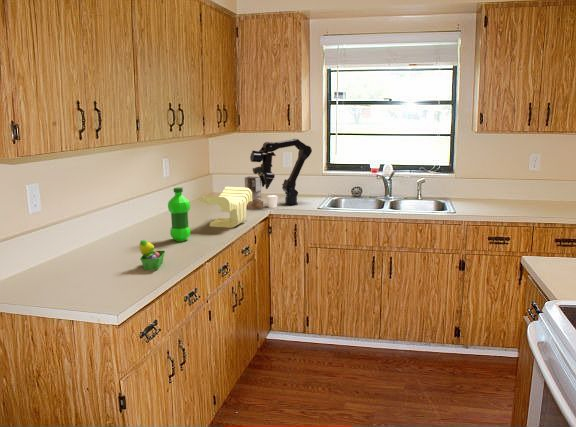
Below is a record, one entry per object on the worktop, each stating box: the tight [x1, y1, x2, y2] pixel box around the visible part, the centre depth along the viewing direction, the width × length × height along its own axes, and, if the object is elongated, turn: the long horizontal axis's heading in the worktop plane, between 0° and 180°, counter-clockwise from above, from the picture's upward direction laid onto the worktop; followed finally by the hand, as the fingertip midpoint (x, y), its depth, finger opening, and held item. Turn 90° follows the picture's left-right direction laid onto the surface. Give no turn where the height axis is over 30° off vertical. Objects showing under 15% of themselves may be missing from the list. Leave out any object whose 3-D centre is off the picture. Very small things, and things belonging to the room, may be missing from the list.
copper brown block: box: [246, 199, 264, 210], centre depth 330 cm, size 10×10×4 cm
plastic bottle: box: [167, 187, 191, 242], centre depth 251 cm, size 10×10×25 cm
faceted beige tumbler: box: [266, 194, 279, 209], centre depth 330 cm, size 7×7×7 cm
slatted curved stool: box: [200, 186, 252, 229], centre depth 283 cm, size 30×16×18 cm, turn 162°
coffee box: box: [244, 175, 262, 201], centre depth 348 cm, size 9×6×16 cm
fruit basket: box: [138, 239, 166, 271], centre depth 212 cm, size 11×9×11 cm
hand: (264, 187), depth 329 cm, fingers open, 9 cm apart
